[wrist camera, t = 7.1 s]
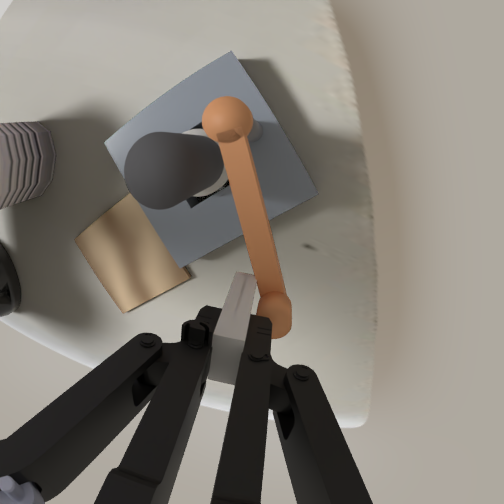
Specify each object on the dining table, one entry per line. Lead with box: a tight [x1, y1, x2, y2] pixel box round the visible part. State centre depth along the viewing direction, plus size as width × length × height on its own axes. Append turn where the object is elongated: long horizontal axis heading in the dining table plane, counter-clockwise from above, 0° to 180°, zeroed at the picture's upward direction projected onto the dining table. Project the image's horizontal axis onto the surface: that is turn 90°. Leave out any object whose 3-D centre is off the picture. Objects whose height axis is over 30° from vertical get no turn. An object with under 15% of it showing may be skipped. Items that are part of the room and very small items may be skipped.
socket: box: [104, 51, 319, 268], centre depth 23 cm, size 16×16×13 cm
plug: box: [124, 129, 228, 210], centre depth 23 cm, size 6×6×13 cm
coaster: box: [74, 193, 191, 313], centre depth 34 cm, size 12×12×1 cm
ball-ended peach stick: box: [202, 96, 292, 339], centre depth 16 cm, size 13×3×3 cm, turn 15°
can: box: [0, 122, 56, 209], centre depth 26 cm, size 11×11×12 cm
